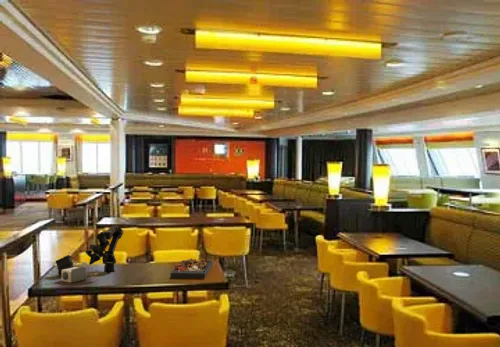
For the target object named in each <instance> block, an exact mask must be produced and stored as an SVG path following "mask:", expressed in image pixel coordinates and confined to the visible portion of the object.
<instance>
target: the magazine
mask: <svg viewBox="0 0 500 347" xmlns="http://www.w3.org/2000/svg"><path fill="white" fill-rule="evenodd" d="M71 257H72V256H71V255H70V254H68V255H65V256H63V257H61V258H59V259H57V260H55V263H54V264H55V265H56V266H57V267H56V269H57V270H58V272H57V274H58V276H59V275H60V276H61V277H62V271H61V270H63V269H68V268H73V267H74V262H73V261H72V258H71Z"/></svg>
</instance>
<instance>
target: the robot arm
mask: <svg viewBox="0 0 500 347" xmlns="http://www.w3.org/2000/svg"><path fill="white" fill-rule="evenodd" d="M123 235H124V230H123V228H121V227H119V225H117V224H114V225H113V224H112V225H111V226H110V227H109V228H107V230H104V231H100V233H98V234H97V235H96V239H97V241H98V243H99V244H89V247H88V249H87V250H86V251H85V255H87V256H88V257H89V263H88V264H89V265H90V266H91V265H93V264H94V263H96V262H98V261H100V260H101V258H102V264H103V265H104V266H103V272H105V273H106V274H107V273H114V272H116V270H115V265H116V263H117V259H116V257H115V250H116V248H117V244H118V242H119V240H120V239H122V237H123ZM110 240H111V241H110ZM107 247H108V248H107ZM106 249H107V250H106Z"/></svg>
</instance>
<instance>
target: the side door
mask: <svg viewBox="0 0 500 347" xmlns="http://www.w3.org/2000/svg"><path fill="white" fill-rule="evenodd" d="M87 264H88V263H87V262H81V267H79V268H76V269H71V280H72V282H71V283H74V282H75V283H76V282H79V281H83V280H86V279H87V278H86V277H87V275H86V274H87V273H86V272H87V270H86V269H87Z"/></svg>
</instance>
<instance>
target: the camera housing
mask: <svg viewBox="0 0 500 347" xmlns="http://www.w3.org/2000/svg"><path fill="white" fill-rule="evenodd" d="M76 268H80V267H78V266H73V268H68V269H63V270H61V271H62V276H61V281H62V282H67V283H73V282H72V280H71V269H76Z"/></svg>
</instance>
